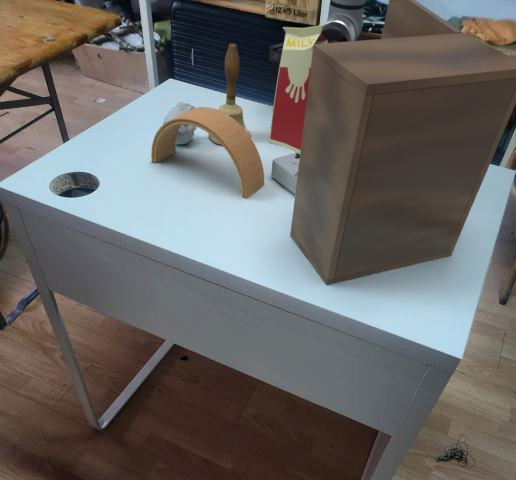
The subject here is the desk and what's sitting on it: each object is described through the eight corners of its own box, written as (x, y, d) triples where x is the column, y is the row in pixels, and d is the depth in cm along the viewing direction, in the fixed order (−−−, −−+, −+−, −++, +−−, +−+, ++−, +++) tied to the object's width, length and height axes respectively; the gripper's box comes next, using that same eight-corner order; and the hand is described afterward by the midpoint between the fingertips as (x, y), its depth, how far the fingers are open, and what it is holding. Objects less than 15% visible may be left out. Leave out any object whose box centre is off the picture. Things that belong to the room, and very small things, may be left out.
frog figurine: (206, 143, 94) (206, 105, 89) (177, 154, 90) (174, 115, 85) (186, 131, 97) (184, 94, 91) (157, 141, 93) (153, 103, 88)
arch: (172, 149, 91) (168, 92, 84) (264, 184, 85) (268, 126, 77) (151, 161, 88) (145, 103, 81) (245, 199, 81) (247, 139, 74)
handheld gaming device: (270, 178, 86) (271, 157, 84) (334, 158, 92) (338, 138, 90) (301, 203, 82) (304, 182, 79) (366, 180, 88) (371, 160, 85)
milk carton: (327, 138, 98) (346, 21, 83) (303, 156, 92) (319, 34, 78) (288, 125, 101) (300, 10, 86) (263, 141, 96) (270, 21, 81)
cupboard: (289, 236, 75) (313, 44, 56) (406, 213, 81) (463, 32, 62) (326, 285, 68) (367, 84, 49) (450, 256, 74) (531, 67, 55)
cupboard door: (390, 147, 96) (432, -12, 77) (438, 207, 83) (503, 31, 64) (357, 149, 95) (391, -13, 76) (401, 210, 82) (455, 32, 63)
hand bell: (229, 123, 100) (230, 33, 88) (260, 137, 97) (265, 45, 85) (199, 136, 95) (196, 43, 84) (231, 151, 92) (232, 56, 80)
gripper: (387, 70, 106) (371, 108, 92) (276, 51, 110) (244, 85, 96) (397, 30, 100) (381, 64, 87) (279, 12, 105) (246, 41, 91)
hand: (309, 75), depth 91 cm, fingers open, 13 cm apart
